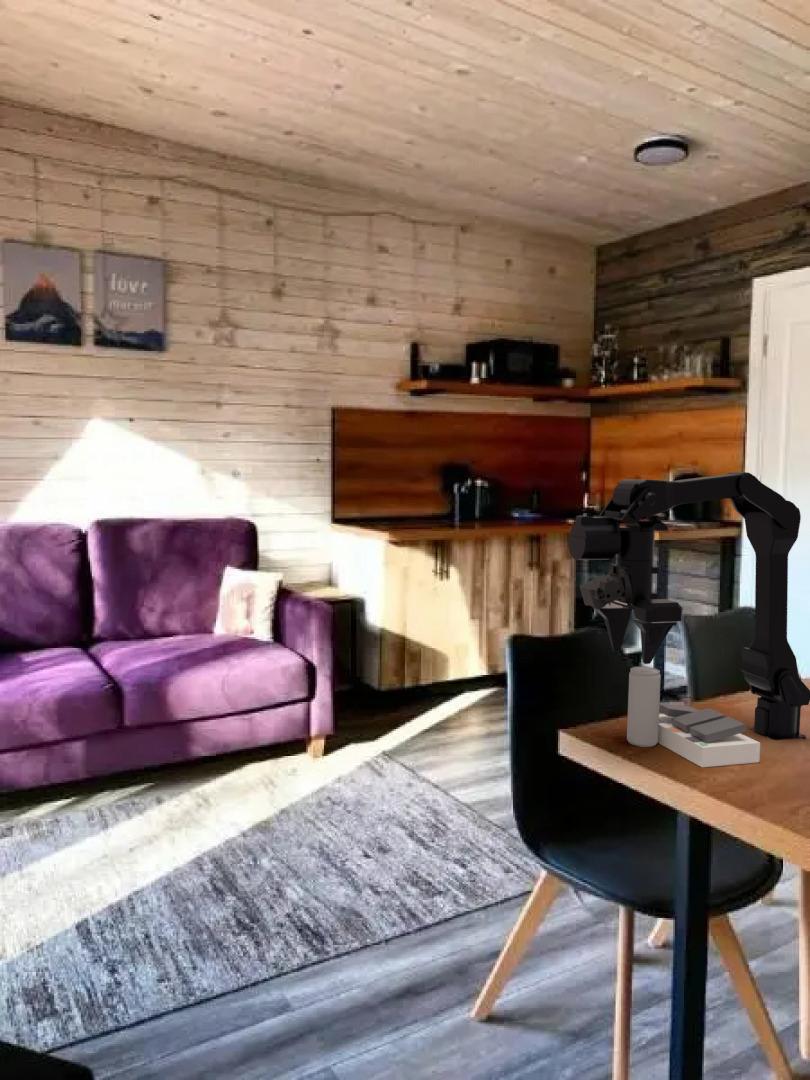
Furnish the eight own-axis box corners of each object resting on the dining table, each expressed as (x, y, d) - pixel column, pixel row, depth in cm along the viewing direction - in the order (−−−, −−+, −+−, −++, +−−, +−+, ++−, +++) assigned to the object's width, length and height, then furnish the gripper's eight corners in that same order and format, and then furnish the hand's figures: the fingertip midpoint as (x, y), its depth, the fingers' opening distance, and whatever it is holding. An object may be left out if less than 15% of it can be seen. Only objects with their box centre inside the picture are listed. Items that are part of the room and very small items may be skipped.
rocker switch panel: (692, 728, 146) (693, 710, 145) (759, 762, 129) (760, 741, 129) (640, 732, 143) (641, 714, 143) (701, 767, 127) (702, 746, 126)
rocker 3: (729, 723, 134) (728, 716, 134) (746, 731, 130) (745, 724, 130) (690, 734, 132) (689, 727, 132) (706, 742, 128) (705, 735, 128)
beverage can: (659, 749, 134) (662, 674, 133) (627, 747, 135) (630, 672, 134) (656, 740, 139) (659, 667, 138) (625, 737, 140) (628, 665, 139)
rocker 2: (709, 715, 139) (709, 707, 138) (725, 722, 135) (724, 714, 135) (672, 725, 137) (671, 718, 137) (686, 732, 133) (685, 725, 133)
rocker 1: (690, 713, 143) (691, 706, 143) (704, 720, 140) (706, 713, 140) (654, 709, 141) (655, 702, 141) (667, 716, 138) (669, 708, 138)
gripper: (561, 553, 141) (558, 647, 142) (619, 566, 123) (615, 673, 124) (621, 553, 144) (618, 644, 145) (686, 565, 126) (682, 669, 127)
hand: (630, 657), depth 135 cm, fingers open, 9 cm apart
